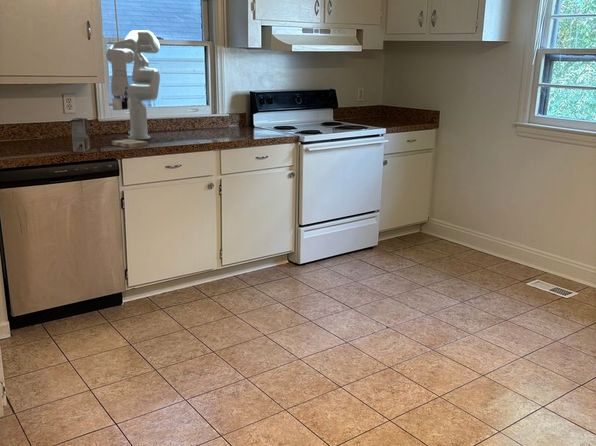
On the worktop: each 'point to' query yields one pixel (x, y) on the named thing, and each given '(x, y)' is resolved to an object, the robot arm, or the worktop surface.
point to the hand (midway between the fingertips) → (121, 108)
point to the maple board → (129, 143)
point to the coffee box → (80, 135)
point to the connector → (119, 103)
